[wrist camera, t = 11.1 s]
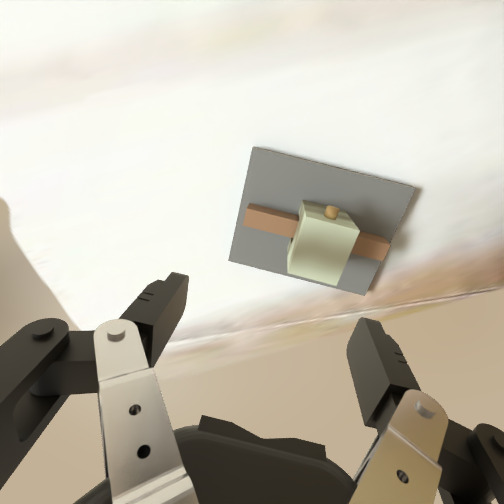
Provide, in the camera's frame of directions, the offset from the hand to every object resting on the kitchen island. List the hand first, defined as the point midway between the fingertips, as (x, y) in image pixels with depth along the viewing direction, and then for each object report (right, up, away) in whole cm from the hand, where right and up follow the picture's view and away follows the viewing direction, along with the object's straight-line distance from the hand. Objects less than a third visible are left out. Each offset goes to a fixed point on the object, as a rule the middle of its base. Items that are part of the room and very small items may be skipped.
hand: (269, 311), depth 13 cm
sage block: (+7, +5, +20) cm, 22 cm away
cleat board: (+7, +6, +21) cm, 23 cm away
